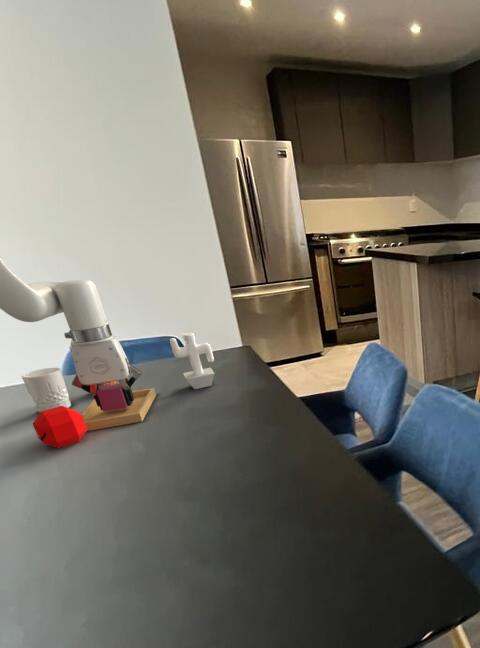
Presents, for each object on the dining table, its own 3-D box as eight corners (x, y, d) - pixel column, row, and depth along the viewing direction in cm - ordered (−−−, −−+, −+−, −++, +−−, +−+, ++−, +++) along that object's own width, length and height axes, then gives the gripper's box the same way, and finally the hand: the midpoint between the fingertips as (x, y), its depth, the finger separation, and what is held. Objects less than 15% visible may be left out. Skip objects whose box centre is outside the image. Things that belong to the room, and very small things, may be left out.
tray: (75, 433, 112) (72, 424, 111) (98, 404, 129) (95, 397, 128) (142, 421, 116) (139, 413, 115) (156, 395, 133) (154, 387, 132)
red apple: (40, 444, 107) (26, 412, 104) (83, 431, 113) (71, 400, 110) (48, 454, 102) (34, 421, 99) (93, 440, 108) (80, 408, 105)
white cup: (40, 417, 123) (24, 379, 119) (34, 410, 128) (18, 373, 124) (77, 407, 128) (63, 370, 124) (70, 400, 133) (56, 365, 129)
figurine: (221, 384, 138) (208, 332, 132) (185, 392, 133) (169, 339, 128) (217, 378, 144) (204, 328, 138) (182, 386, 139) (167, 334, 133)
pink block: (103, 411, 119) (96, 392, 117) (108, 404, 123) (101, 386, 121) (126, 407, 120) (120, 388, 119) (131, 401, 125) (124, 382, 123)
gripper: (43, 343, 109) (72, 418, 116) (129, 332, 114) (153, 404, 121) (55, 336, 116) (82, 407, 123) (136, 326, 121) (158, 395, 128)
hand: (117, 405), depth 122 cm, fingers closed on pink block, 4 cm apart
